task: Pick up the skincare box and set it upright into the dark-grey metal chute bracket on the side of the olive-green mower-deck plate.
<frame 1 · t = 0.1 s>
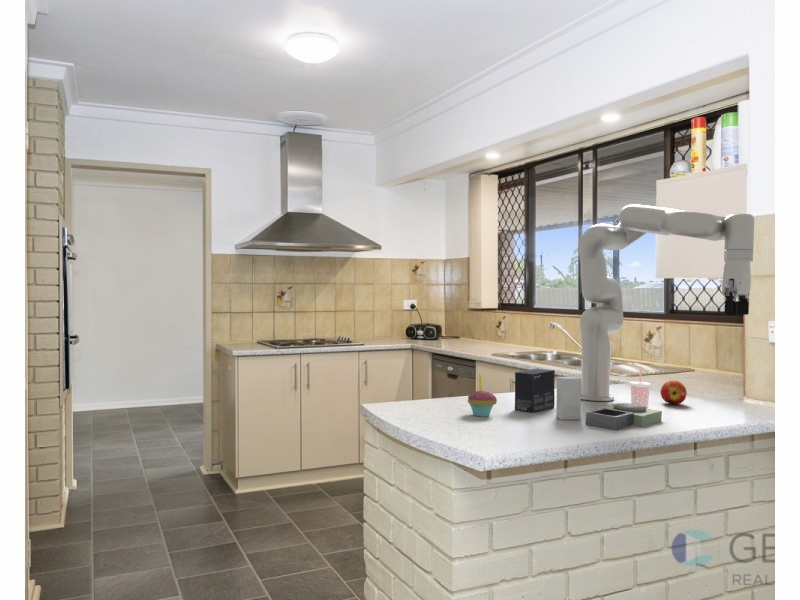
hand: (736, 314, 187), 31 cm above the countertop, fingers open, 9 cm apart
apple: (673, 404, 213), on the countertop
skincare box: (567, 419, 185), on the countertop
beverage cup: (639, 412, 199), on the countertop
mower deck: (628, 419, 185), on the countertop
small box: (534, 409, 199), on the countertop
cupcake: (481, 415, 188), on the countertop
chute bracket: (609, 424, 178), on the countertop
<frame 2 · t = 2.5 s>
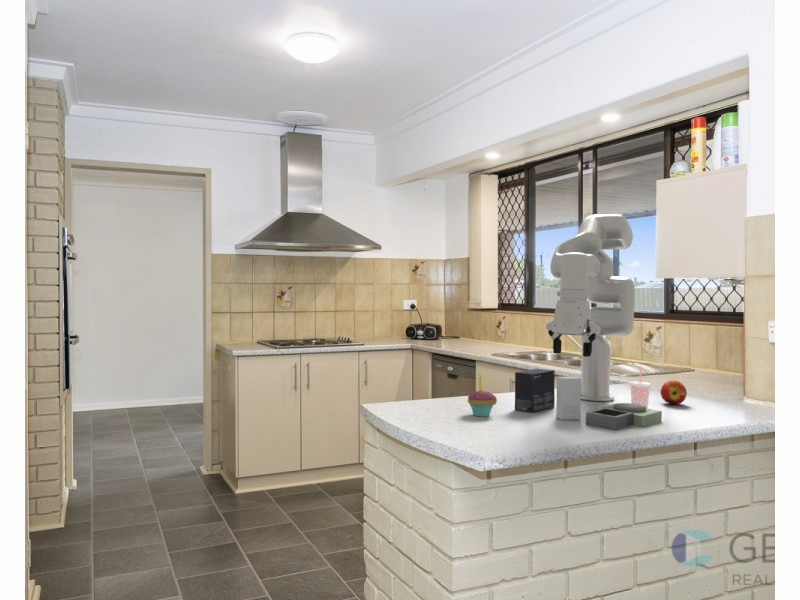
hand: (571, 354, 185), 19 cm above the countertop, fingers open, 9 cm apart
nothing on the countertop moved.
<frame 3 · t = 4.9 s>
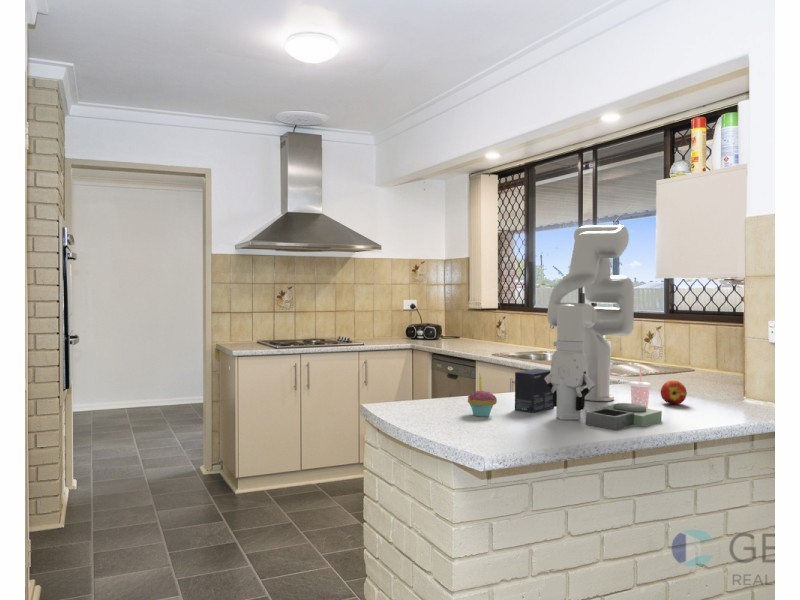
hand: (568, 407, 185), 3 cm above the countertop, fingers closed on skincare box, 6 cm apart
skincare box: (567, 419, 185), on the countertop, touching gripper
everything else where it was.
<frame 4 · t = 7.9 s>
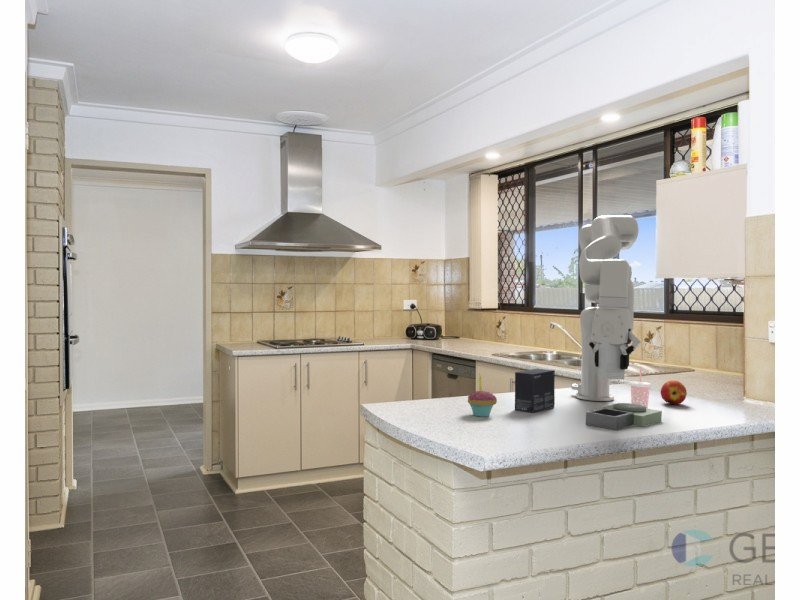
hand: (611, 367, 177), 16 cm above the countertop, fingers closed on skincare box, 6 cm apart
skincare box: (610, 379, 177), point 13 cm above the countertop, touching gripper
everything else where it was.
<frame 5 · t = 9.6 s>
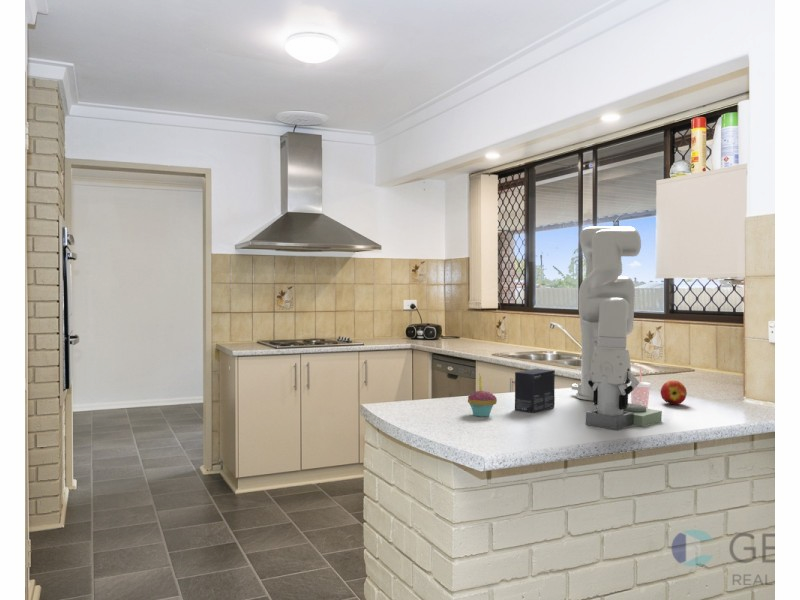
hand: (610, 406, 178), 5 cm above the countertop, fingers closed on skincare box, 6 cm apart
skincare box: (609, 418, 178), point 2 cm above the countertop, touching gripper
everything else where it was.
when the fingers open (4 cm above the countertop, at t = 10.8 s): skincare box stays where it is, resting in chute bracket.
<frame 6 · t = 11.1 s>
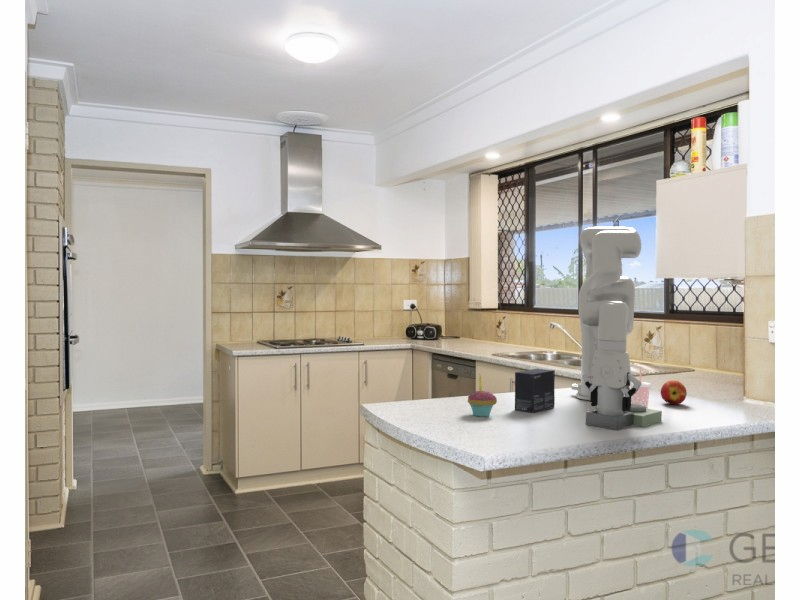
hand: (610, 408, 178), 5 cm above the countertop, fingers open, 9 cm apart
skincare box: (609, 425, 178), resting in chute bracket
everything else where it was.
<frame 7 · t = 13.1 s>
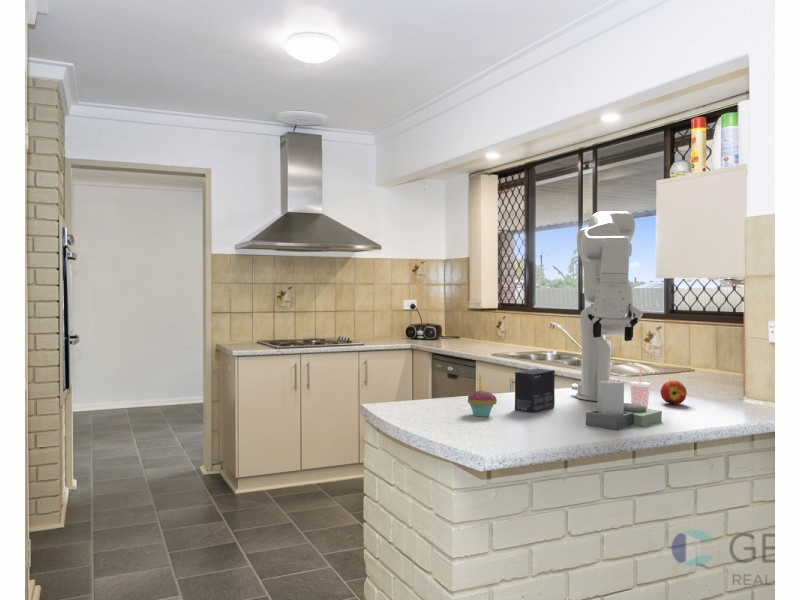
hand: (612, 338, 184), 24 cm above the countertop, fingers open, 9 cm apart
nothing on the countertop moved.
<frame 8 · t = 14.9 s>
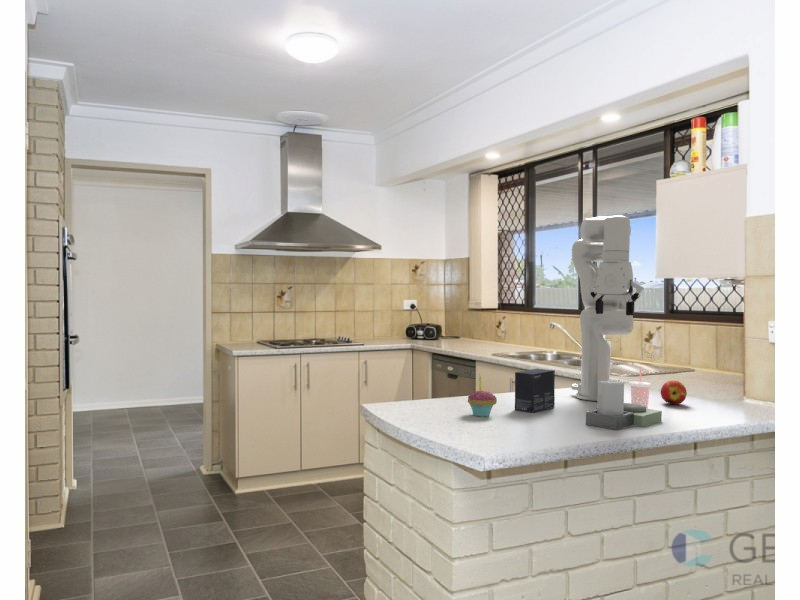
hand: (614, 314, 192), 30 cm above the countertop, fingers open, 9 cm apart
nothing on the countertop moved.
at the end: skincare box inside the target area on the chute bracket (0.1 cm from its centre), point 0.0 cm above the chute bracket's base; skincare box tilted 0°; the gripper is holding nothing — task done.
